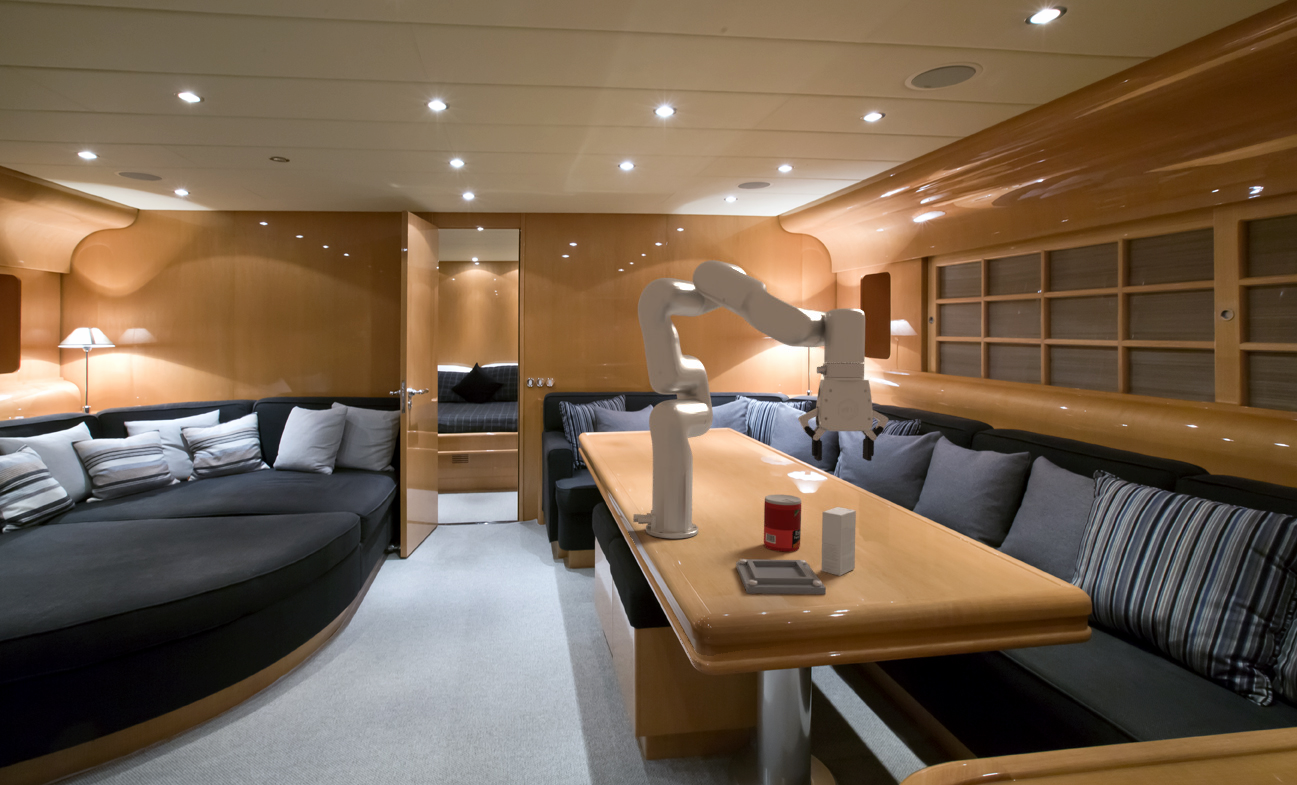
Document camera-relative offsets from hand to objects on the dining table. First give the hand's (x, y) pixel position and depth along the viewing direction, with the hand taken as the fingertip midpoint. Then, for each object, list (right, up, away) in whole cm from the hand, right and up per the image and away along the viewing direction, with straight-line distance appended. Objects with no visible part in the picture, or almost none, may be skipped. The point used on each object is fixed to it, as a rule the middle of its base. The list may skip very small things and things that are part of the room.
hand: (842, 459), depth 126 cm
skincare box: (0, -22, +2) cm, 22 cm away
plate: (-13, -22, -4) cm, 26 cm away
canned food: (-8, -21, +17) cm, 28 cm away
